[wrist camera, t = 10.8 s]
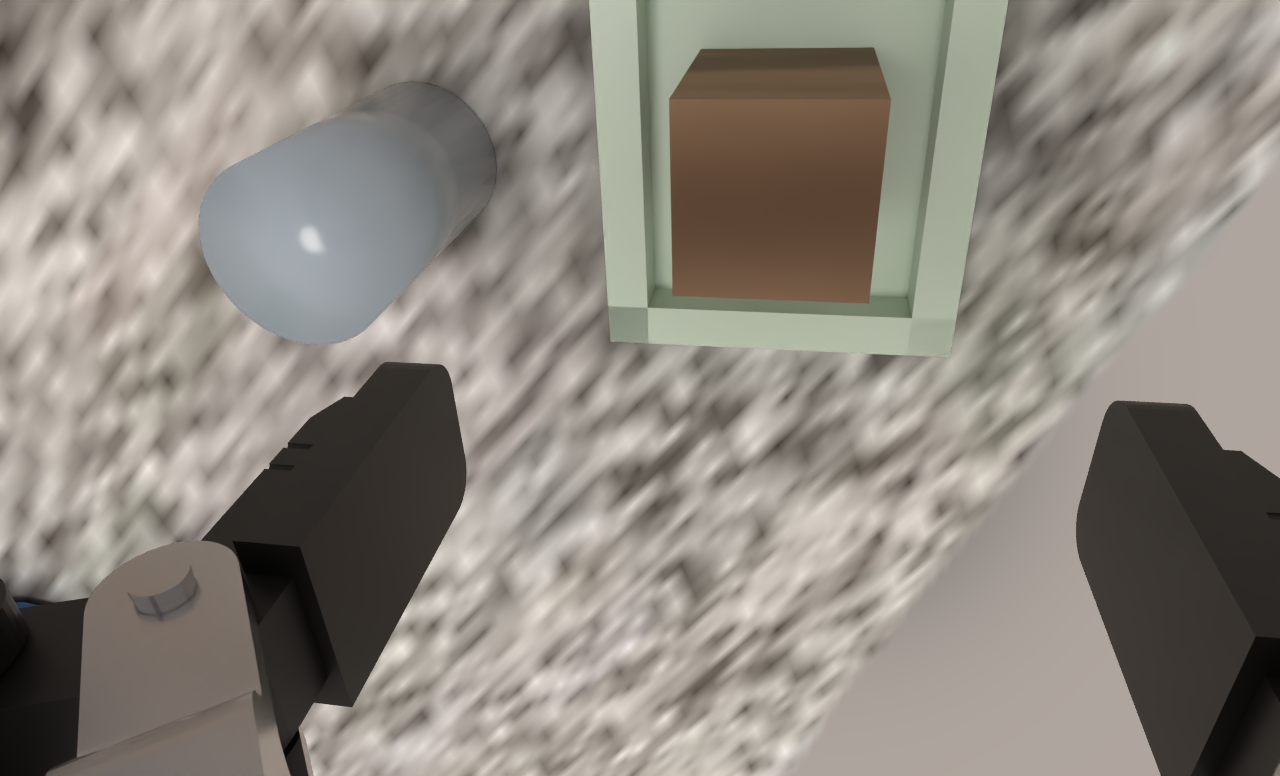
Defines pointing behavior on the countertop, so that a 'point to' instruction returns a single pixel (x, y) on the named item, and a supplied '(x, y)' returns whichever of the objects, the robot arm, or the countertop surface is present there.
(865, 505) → the countertop surface
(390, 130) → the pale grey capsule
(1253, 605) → the robot arm
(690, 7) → the sage tray
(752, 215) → the walnut block
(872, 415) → the countertop surface
